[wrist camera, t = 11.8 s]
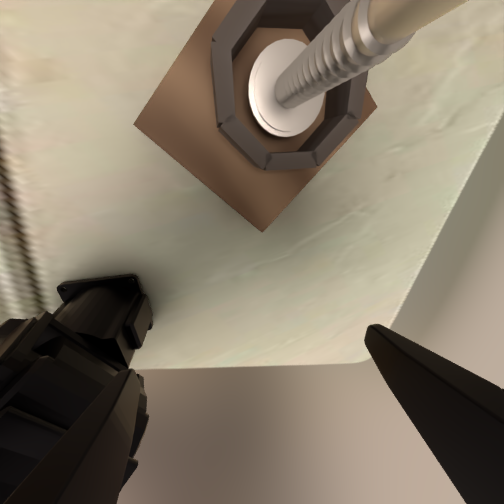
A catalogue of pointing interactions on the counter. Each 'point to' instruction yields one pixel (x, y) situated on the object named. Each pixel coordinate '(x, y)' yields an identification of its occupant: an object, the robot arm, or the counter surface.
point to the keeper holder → (248, 107)
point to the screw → (332, 59)
